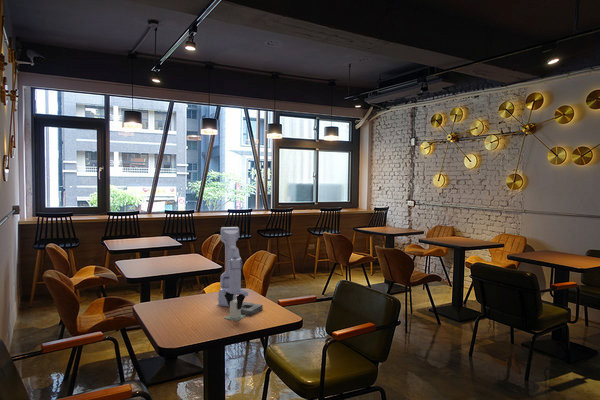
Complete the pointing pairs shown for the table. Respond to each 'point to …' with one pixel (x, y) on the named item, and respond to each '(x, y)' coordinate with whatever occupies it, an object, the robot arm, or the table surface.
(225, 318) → the mat
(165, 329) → the table surface
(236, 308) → the block
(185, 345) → the table surface
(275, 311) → the table surface
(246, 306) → the pocket board
